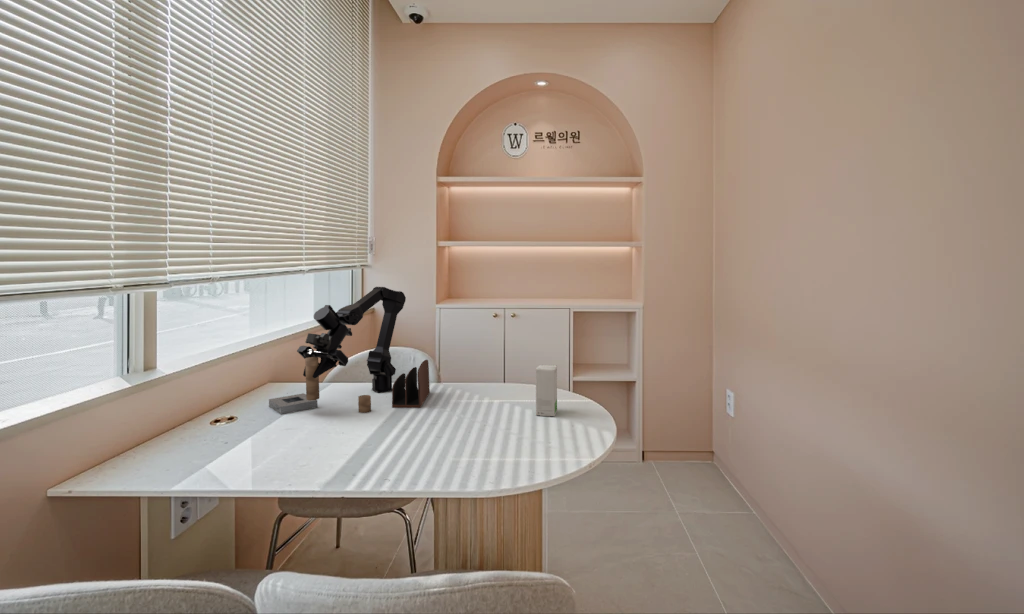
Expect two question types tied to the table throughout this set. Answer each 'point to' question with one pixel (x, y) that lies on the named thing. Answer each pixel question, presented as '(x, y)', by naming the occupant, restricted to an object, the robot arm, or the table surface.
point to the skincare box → (546, 390)
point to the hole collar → (292, 403)
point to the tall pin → (311, 378)
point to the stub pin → (364, 403)
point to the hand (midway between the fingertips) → (308, 376)
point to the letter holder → (411, 388)
